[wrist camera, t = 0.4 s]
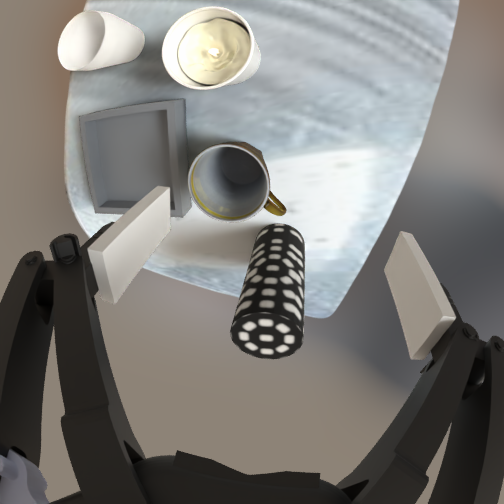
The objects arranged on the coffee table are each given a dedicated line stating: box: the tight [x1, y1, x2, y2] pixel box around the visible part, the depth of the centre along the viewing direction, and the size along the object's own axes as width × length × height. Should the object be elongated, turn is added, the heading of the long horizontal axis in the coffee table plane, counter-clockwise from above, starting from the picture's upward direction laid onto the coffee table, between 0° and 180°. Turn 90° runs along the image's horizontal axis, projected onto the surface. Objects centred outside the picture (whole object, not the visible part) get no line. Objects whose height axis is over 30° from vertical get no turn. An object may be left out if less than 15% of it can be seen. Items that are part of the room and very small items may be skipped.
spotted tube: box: [230, 224, 305, 359], centre depth 39 cm, size 8×8×20 cm
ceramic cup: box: [188, 142, 286, 223], centre depth 37 cm, size 13×10×10 cm
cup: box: [58, 11, 145, 71], centre depth 26 cm, size 9×9×12 cm
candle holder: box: [162, 7, 261, 90], centre depth 27 cm, size 10×10×12 cm
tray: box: [79, 99, 192, 217], centre depth 40 cm, size 18×18×4 cm
